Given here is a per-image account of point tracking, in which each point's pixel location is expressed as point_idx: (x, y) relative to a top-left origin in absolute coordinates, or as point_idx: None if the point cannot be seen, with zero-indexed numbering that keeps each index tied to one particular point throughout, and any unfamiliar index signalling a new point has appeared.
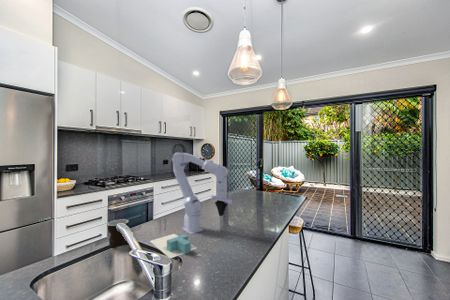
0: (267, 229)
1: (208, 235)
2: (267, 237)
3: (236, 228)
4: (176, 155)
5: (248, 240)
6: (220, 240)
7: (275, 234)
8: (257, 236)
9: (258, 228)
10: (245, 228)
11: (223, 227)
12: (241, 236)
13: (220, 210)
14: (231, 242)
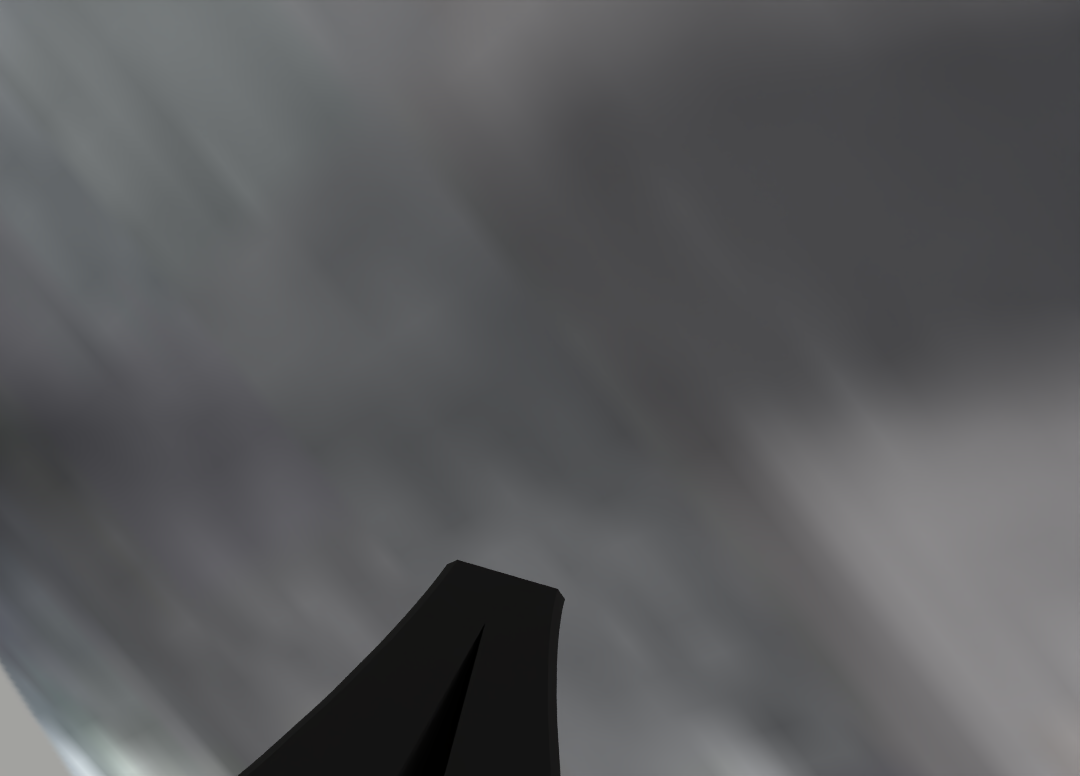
0: (185, 771)
1: (859, 60)
2: (3, 563)
3: None
4: None
5: (70, 345)
6: (411, 10)
7: (19, 677)
8: (101, 535)
9: None
10: None
11: (790, 615)
12: (253, 422)
13: (283, 747)
14: (183, 85)
